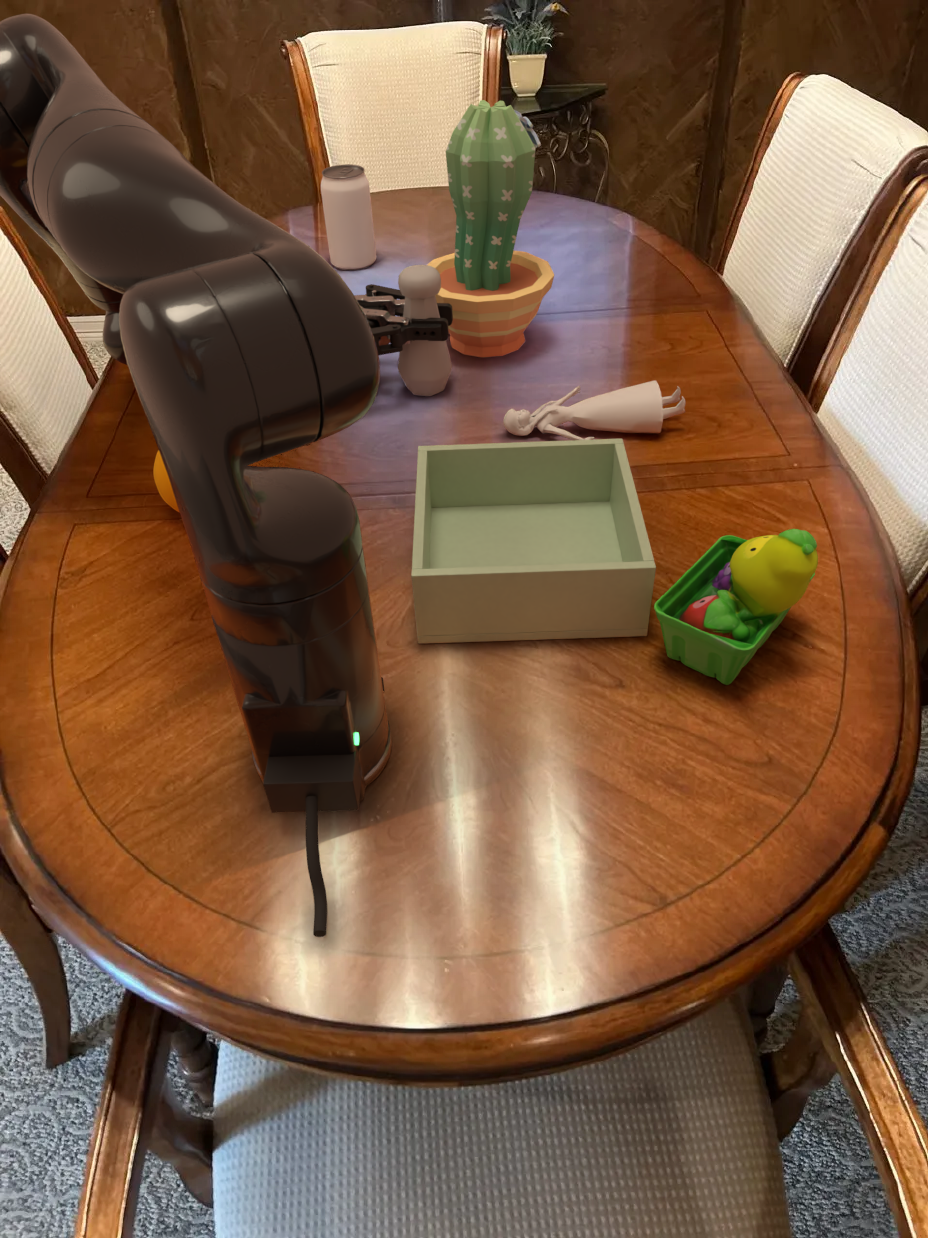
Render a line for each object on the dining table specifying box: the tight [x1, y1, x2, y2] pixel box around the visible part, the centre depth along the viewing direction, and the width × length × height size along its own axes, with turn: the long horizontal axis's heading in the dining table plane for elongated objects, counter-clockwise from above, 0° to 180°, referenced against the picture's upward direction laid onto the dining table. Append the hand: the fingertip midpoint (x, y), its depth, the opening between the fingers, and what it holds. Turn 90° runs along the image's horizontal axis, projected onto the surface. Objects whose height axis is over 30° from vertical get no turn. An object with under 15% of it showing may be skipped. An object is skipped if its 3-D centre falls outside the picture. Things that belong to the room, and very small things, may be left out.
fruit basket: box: [653, 528, 819, 686], centre depth 65 cm, size 11×9×11 cm
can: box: [320, 163, 377, 271], centre depth 124 cm, size 6×6×12 cm
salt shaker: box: [397, 264, 453, 397], centre depth 96 cm, size 6×6×13 cm
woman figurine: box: [502, 379, 686, 440], centre depth 92 cm, size 12×4×18 cm
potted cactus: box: [427, 99, 555, 358], centre depth 100 cm, size 15×15×25 cm
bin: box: [410, 438, 657, 644], centre depth 74 cm, size 18×18×7 cm
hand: (449, 321), depth 95 cm, fingers closed on salt shaker, 3 cm apart
